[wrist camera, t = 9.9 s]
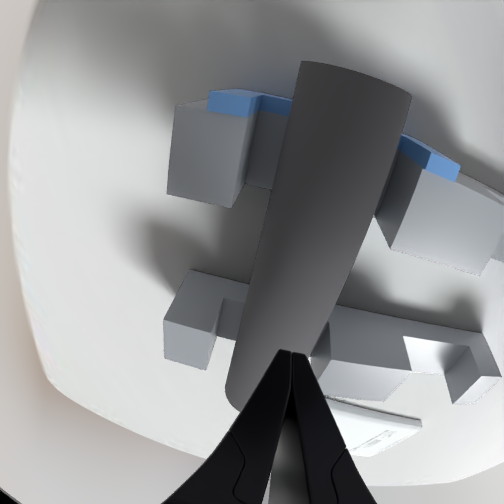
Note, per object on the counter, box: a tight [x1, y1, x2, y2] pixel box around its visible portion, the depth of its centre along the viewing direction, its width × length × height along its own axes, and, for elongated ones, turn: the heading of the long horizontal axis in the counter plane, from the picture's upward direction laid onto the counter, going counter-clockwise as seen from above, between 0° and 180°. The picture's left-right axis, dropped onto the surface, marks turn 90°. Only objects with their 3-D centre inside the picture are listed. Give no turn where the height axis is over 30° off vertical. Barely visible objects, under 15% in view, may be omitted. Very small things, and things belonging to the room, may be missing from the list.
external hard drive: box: [325, 398, 422, 457], centre depth 24 cm, size 2×8×12 cm
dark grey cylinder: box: [225, 61, 412, 412], centre depth 12 cm, size 4×16×4 cm, turn 169°
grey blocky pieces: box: [163, 89, 504, 404], centre depth 13 cm, size 20×13×4 cm, turn 80°
